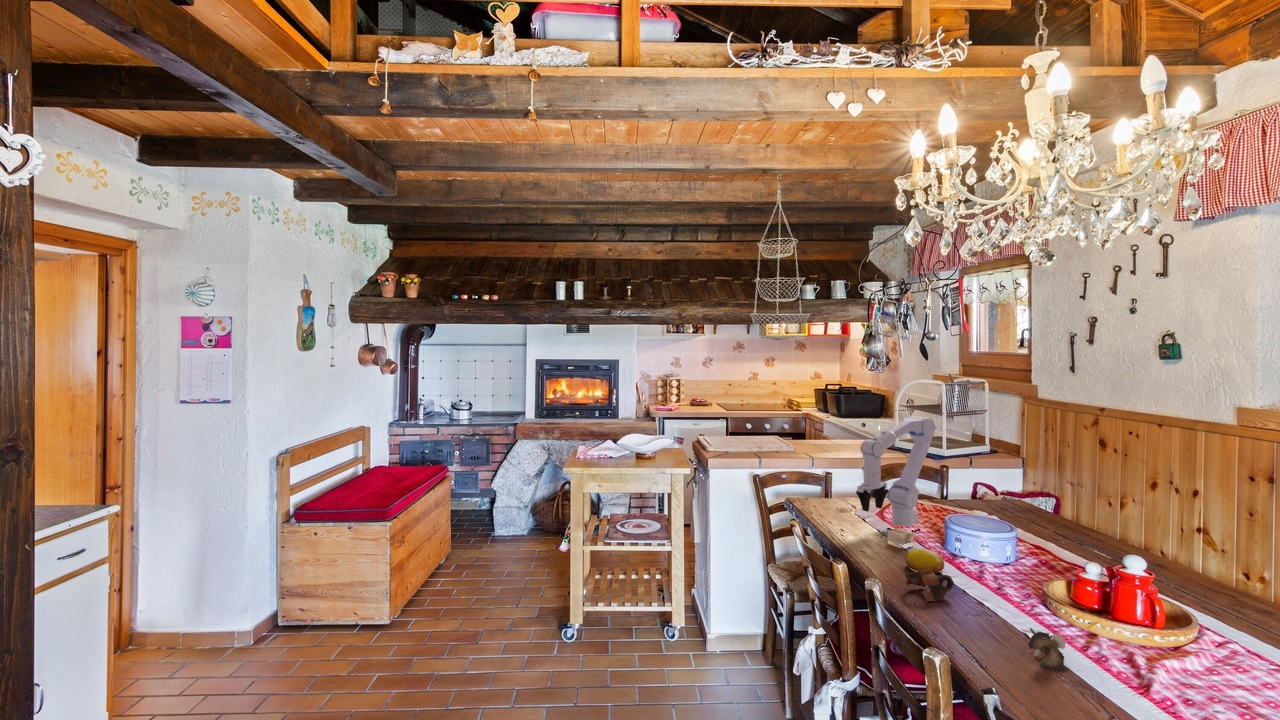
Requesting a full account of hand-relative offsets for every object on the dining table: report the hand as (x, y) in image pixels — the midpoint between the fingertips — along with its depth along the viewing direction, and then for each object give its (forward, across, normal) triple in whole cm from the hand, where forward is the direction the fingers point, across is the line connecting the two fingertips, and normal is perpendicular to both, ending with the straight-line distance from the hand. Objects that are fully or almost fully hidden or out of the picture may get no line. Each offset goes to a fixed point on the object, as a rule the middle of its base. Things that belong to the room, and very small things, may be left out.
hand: (872, 509), depth 214 cm
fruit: (+10, +16, +31) cm, 36 cm away
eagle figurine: (+10, +44, +76) cm, 88 cm away
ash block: (+10, +2, +13) cm, 16 cm away
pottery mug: (+10, +33, +43) cm, 55 cm away
